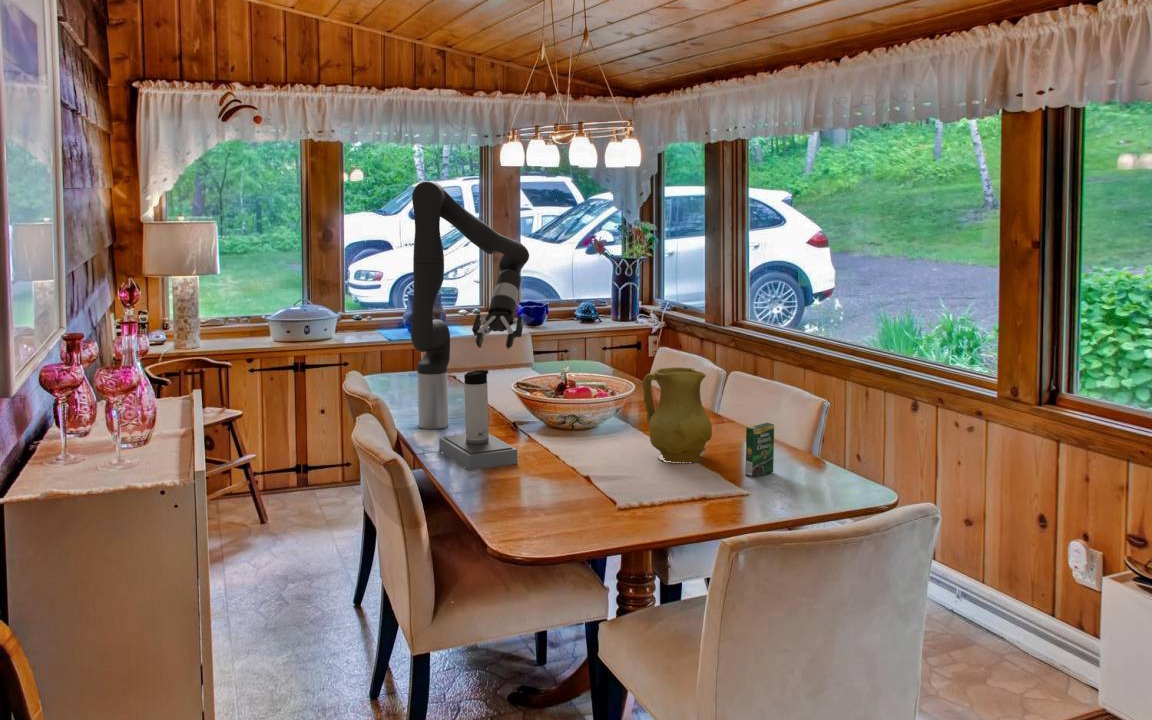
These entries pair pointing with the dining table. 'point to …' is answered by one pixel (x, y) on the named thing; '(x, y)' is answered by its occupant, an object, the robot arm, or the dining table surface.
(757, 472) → the coffee box
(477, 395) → the travel mug
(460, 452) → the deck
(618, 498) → the dining table surface
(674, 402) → the pitcher
